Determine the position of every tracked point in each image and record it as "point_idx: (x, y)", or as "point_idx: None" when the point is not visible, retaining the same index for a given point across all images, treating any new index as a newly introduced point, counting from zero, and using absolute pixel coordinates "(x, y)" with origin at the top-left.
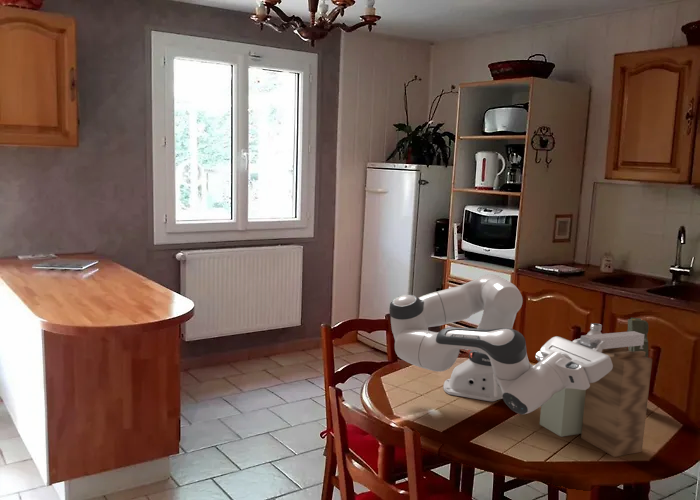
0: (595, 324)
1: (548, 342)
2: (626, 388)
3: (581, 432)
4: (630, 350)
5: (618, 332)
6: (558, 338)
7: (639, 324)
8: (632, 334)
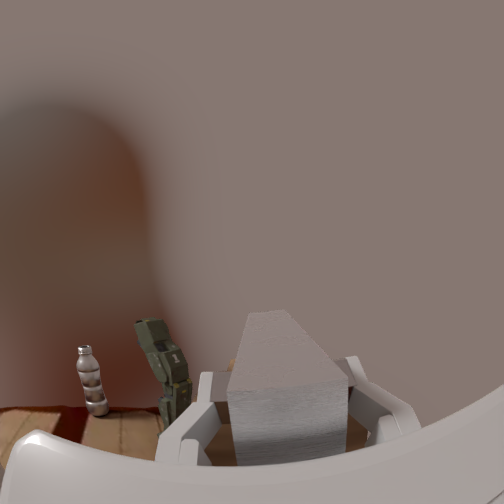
0: (82, 347)
1: (10, 495)
2: None
3: None
4: (160, 370)
5: (246, 322)
6: (50, 453)
7: (157, 326)
8: (278, 315)
